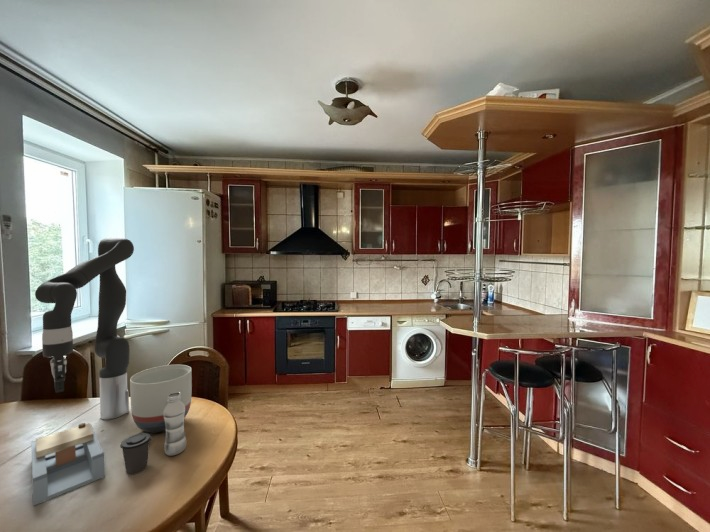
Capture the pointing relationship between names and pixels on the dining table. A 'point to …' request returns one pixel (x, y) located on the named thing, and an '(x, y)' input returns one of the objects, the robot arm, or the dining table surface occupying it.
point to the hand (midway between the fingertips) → (59, 389)
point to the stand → (66, 470)
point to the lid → (63, 440)
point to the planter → (158, 394)
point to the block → (65, 456)
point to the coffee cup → (136, 452)
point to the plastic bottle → (174, 425)
